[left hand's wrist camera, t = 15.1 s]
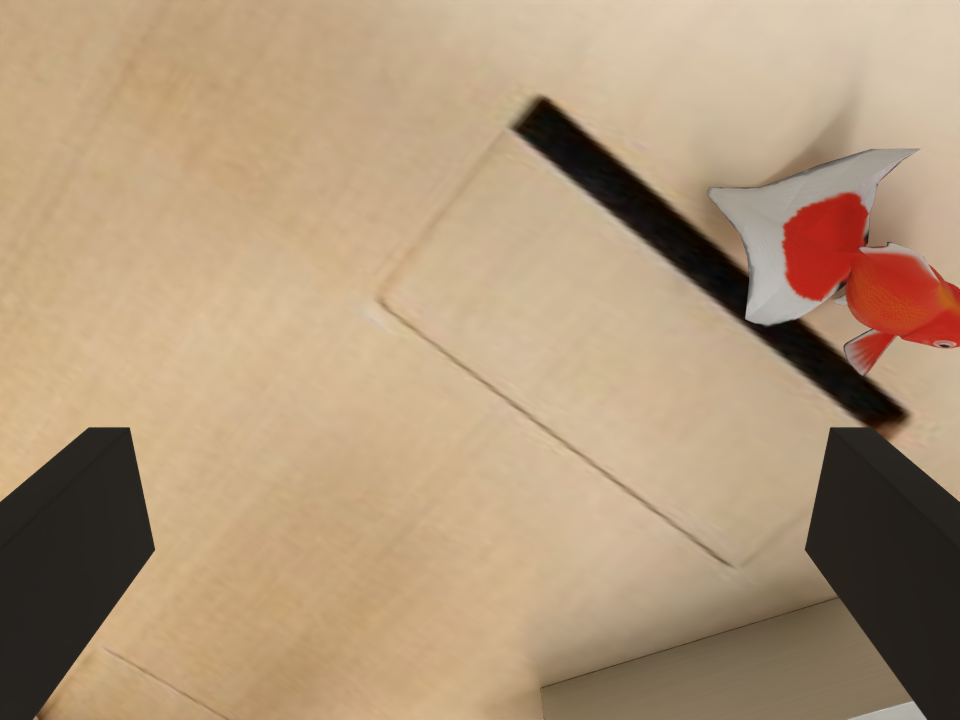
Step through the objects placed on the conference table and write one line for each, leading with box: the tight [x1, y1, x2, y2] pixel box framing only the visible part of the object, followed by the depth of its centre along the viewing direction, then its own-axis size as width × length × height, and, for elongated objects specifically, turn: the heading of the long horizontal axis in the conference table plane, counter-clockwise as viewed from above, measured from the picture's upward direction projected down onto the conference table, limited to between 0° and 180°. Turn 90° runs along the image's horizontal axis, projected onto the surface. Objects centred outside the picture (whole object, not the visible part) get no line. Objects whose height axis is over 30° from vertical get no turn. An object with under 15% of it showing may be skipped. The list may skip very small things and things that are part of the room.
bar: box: [541, 598, 927, 720], centre depth 48 cm, size 24×5×9 cm, turn 112°
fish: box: [707, 149, 960, 377], centre depth 37 cm, size 11×16×10 cm
